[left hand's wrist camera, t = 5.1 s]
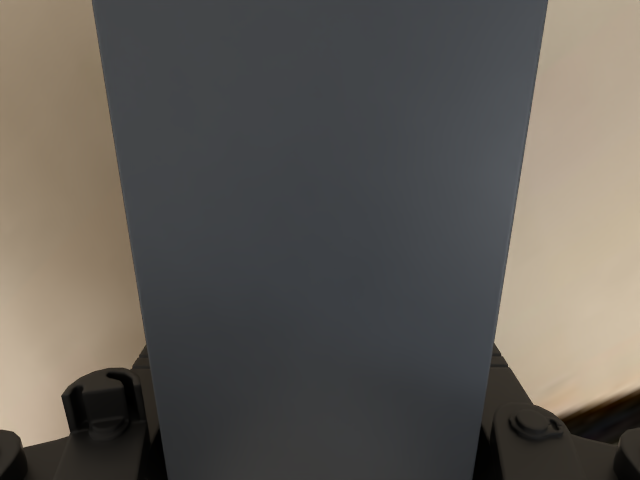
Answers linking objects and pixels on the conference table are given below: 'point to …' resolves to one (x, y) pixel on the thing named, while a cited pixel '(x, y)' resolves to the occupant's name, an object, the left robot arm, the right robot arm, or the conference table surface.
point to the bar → (320, 223)
